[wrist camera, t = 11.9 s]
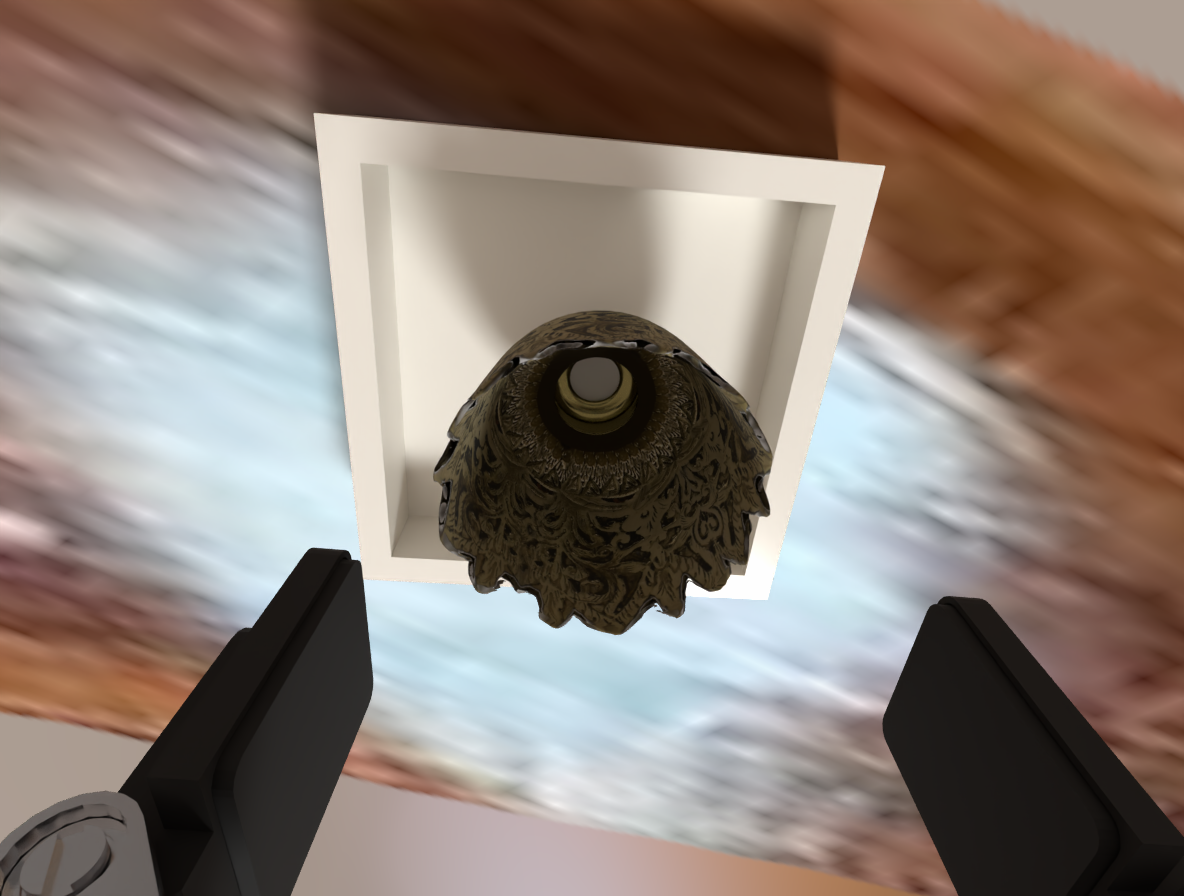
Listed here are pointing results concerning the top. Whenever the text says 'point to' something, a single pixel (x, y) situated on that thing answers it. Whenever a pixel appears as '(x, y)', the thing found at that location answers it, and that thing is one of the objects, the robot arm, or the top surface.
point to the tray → (571, 293)
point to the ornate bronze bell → (602, 474)
